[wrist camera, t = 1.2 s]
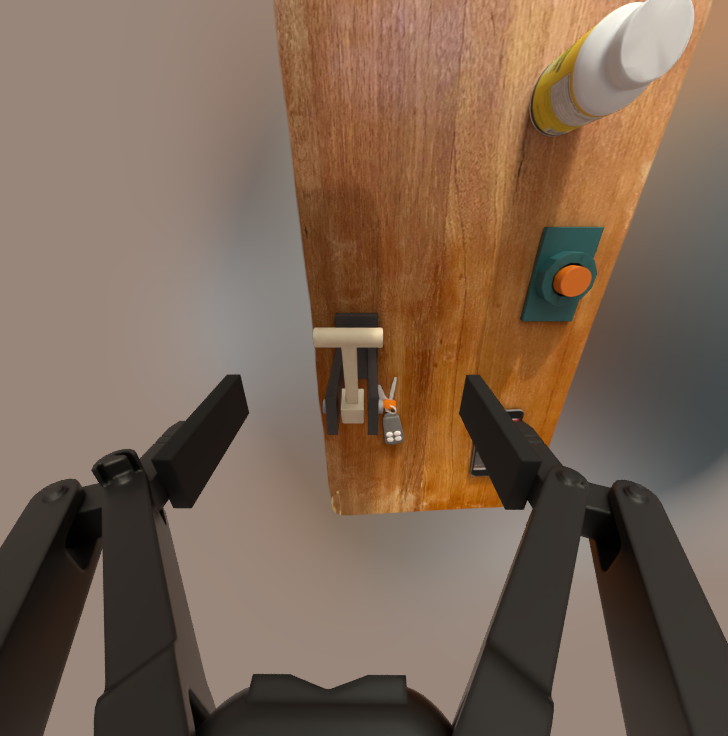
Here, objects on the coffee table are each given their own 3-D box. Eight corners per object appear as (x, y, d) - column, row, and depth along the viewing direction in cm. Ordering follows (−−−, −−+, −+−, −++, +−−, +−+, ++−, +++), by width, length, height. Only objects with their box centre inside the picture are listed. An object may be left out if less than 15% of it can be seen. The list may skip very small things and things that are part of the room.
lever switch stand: (336, 312, 41) (316, 370, 25) (378, 312, 41) (385, 371, 25) (338, 374, 45) (324, 456, 30) (376, 374, 45) (382, 456, 30)
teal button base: (544, 227, 36) (556, 227, 33) (600, 227, 36) (616, 227, 33) (520, 319, 41) (528, 325, 39) (568, 319, 41) (580, 325, 39)
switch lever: (315, 318, 21) (311, 342, 20) (382, 319, 21) (383, 343, 20) (330, 403, 31) (328, 423, 29) (377, 403, 31) (377, 423, 29)
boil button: (557, 264, 36) (566, 266, 34) (586, 264, 36) (596, 266, 34) (548, 293, 37) (556, 297, 36) (576, 293, 37) (585, 296, 36)
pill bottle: (595, 49, 28) (727, -49, 18) (585, 130, 31) (694, 86, 21) (527, 67, 29) (617, -18, 19) (524, 145, 32) (600, 109, 22)
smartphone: (524, 410, 47) (509, 475, 54) (522, 408, 48) (507, 472, 55) (480, 412, 48) (470, 476, 54) (478, 410, 48) (469, 473, 55)
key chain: (405, 438, 51) (406, 443, 50) (385, 440, 52) (385, 446, 50) (396, 375, 45) (397, 380, 44) (373, 379, 46) (373, 384, 44)
